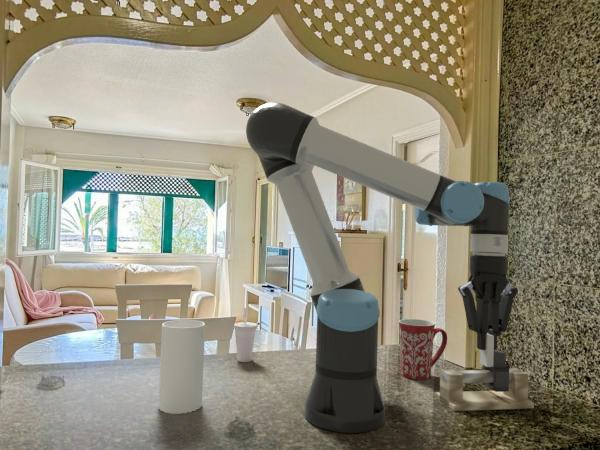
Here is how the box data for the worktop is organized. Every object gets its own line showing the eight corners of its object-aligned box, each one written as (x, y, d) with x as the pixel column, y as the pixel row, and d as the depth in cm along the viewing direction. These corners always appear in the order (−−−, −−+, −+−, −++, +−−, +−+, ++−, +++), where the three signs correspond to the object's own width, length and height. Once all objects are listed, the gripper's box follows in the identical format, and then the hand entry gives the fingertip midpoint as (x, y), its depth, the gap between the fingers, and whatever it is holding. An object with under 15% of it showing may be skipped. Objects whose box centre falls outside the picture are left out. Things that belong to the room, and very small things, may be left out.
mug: (404, 381, 108) (406, 325, 109) (392, 370, 117) (393, 318, 118) (454, 381, 110) (455, 325, 110) (438, 370, 119) (439, 318, 119)
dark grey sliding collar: (495, 391, 93) (496, 354, 94) (482, 384, 98) (483, 348, 99) (508, 391, 94) (509, 354, 94) (494, 383, 99) (495, 348, 99)
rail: (453, 410, 90) (454, 377, 90) (435, 396, 98) (436, 365, 98) (534, 408, 93) (534, 375, 93) (509, 394, 101) (510, 364, 101)
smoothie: (247, 355, 126) (249, 305, 127) (260, 361, 121) (262, 309, 122) (228, 359, 122) (230, 307, 123) (240, 364, 117) (242, 311, 118)
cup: (198, 396, 93) (201, 319, 94) (204, 411, 86) (208, 327, 86) (157, 400, 90) (160, 320, 91) (159, 416, 83) (163, 328, 83)
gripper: (470, 254, 92) (467, 370, 91) (527, 256, 94) (525, 369, 93) (452, 253, 99) (449, 360, 98) (505, 254, 101) (503, 359, 101)
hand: (486, 364), depth 96 cm, fingers closed
